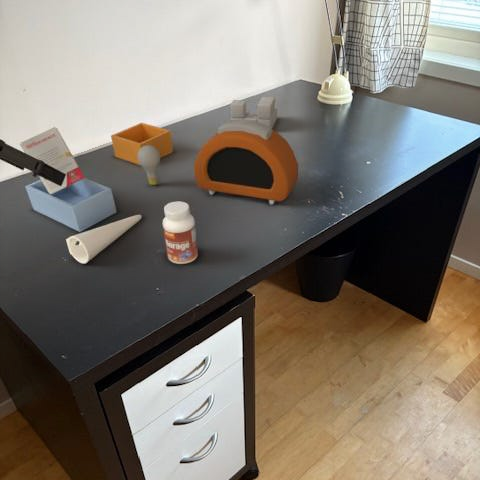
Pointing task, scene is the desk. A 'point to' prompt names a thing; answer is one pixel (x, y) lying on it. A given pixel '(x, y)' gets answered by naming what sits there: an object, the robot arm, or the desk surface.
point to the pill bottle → (179, 233)
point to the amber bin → (141, 141)
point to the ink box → (53, 157)
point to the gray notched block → (264, 108)
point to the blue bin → (73, 203)
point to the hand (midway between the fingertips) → (43, 172)
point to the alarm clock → (247, 162)
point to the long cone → (98, 238)
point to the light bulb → (149, 162)
